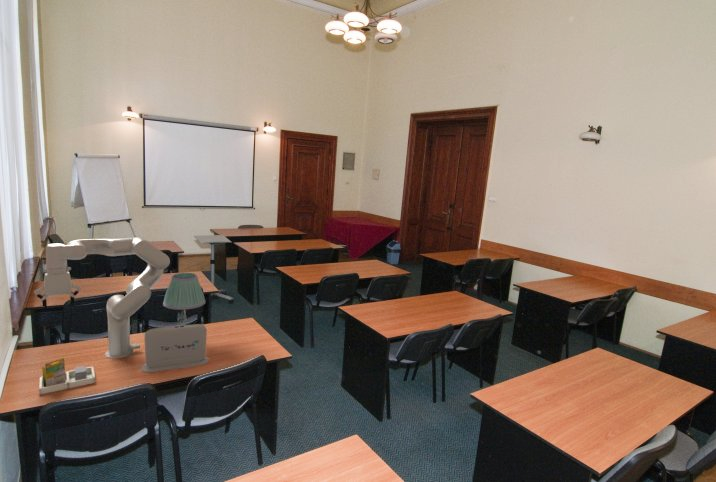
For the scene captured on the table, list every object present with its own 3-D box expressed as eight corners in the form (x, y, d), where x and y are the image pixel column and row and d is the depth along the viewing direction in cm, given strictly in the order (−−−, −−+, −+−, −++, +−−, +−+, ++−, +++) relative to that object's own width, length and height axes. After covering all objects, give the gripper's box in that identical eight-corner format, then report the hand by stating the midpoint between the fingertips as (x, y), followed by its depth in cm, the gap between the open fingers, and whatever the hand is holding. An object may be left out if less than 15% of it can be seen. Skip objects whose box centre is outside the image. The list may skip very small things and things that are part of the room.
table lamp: (163, 338, 226) (163, 271, 219) (204, 335, 234) (205, 270, 228) (161, 355, 206) (161, 282, 200) (205, 351, 215) (206, 280, 208)
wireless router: (140, 374, 187) (140, 334, 184) (141, 364, 196) (140, 326, 192) (210, 364, 202) (210, 327, 198) (207, 355, 210) (208, 320, 207)
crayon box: (62, 380, 175) (61, 355, 173) (65, 382, 174) (64, 357, 172) (43, 387, 169) (41, 362, 167) (46, 389, 167) (45, 364, 166)
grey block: (85, 375, 180) (85, 365, 180) (86, 381, 176) (86, 371, 175) (75, 377, 178) (74, 367, 177) (75, 383, 173) (75, 373, 172)
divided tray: (93, 372, 185) (93, 366, 184) (95, 384, 176) (95, 377, 175) (40, 383, 173) (39, 376, 172) (39, 396, 164) (39, 389, 163)
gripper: (79, 267, 188) (81, 301, 191) (33, 270, 178) (35, 306, 180) (80, 270, 182) (81, 306, 185) (32, 274, 172) (34, 311, 175)
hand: (58, 306), depth 183 cm, fingers open, 9 cm apart
